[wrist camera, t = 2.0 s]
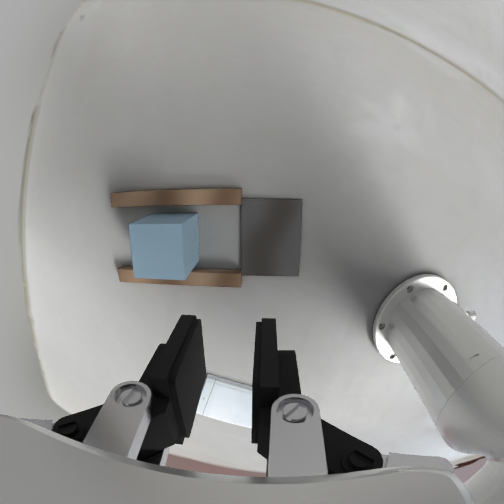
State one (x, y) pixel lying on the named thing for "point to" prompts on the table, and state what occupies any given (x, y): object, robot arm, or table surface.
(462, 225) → the table surface
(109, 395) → the robot arm
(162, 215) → the block
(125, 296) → the table surface
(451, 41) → the table surface
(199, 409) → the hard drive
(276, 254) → the guide channel
